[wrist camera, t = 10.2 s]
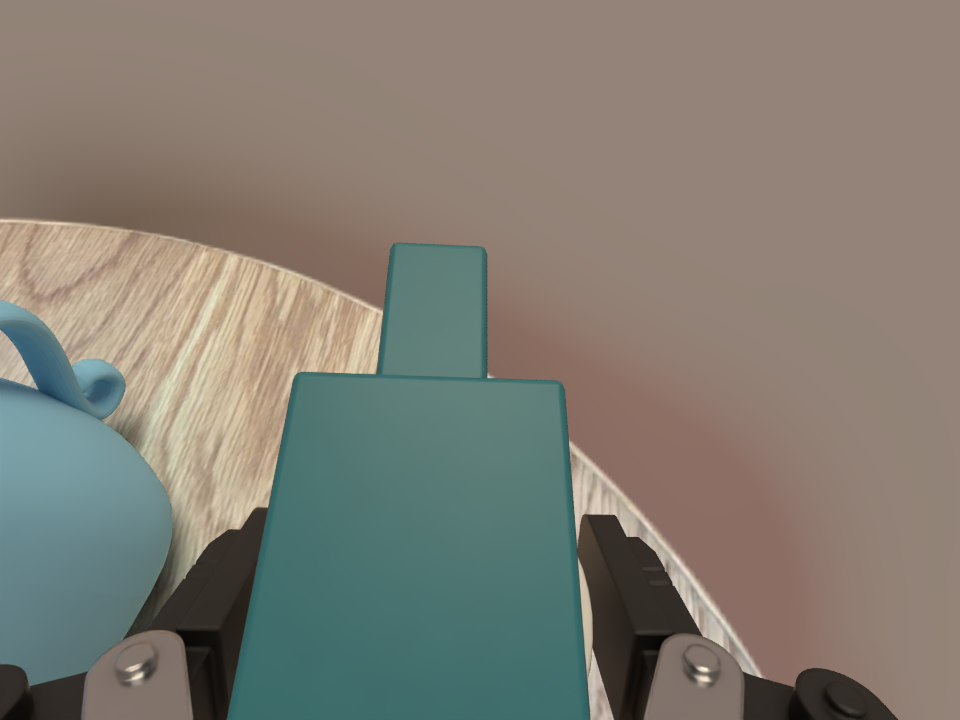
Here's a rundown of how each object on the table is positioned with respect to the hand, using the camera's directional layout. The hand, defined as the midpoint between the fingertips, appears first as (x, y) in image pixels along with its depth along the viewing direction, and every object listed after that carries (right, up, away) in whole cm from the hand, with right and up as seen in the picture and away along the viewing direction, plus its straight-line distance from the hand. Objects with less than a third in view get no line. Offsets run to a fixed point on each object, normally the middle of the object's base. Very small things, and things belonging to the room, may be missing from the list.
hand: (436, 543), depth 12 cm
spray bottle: (-1, -5, +6) cm, 8 cm away
